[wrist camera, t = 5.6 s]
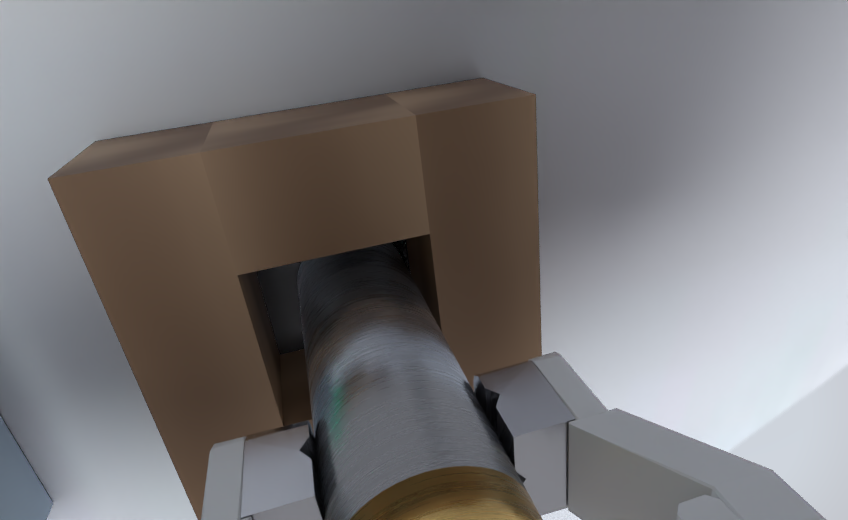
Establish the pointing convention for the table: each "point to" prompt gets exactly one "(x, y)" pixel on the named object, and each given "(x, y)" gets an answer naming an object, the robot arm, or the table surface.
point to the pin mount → (304, 242)
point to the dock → (19, 483)
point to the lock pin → (395, 401)
